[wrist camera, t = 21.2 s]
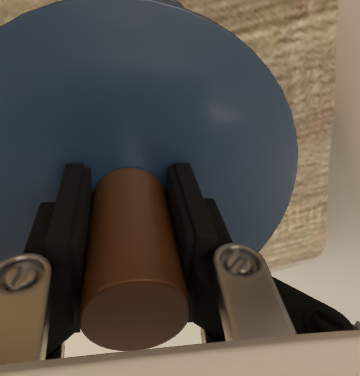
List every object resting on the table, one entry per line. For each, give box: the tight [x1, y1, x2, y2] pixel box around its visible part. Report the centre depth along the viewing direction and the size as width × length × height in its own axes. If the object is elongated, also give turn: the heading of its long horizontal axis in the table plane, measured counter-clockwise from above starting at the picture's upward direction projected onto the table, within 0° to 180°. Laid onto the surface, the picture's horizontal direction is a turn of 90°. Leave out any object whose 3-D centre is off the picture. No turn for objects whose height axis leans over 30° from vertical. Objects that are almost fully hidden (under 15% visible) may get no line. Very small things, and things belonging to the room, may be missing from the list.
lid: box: [0, 0, 298, 351], centre depth 10 cm, size 13×13×6 cm
